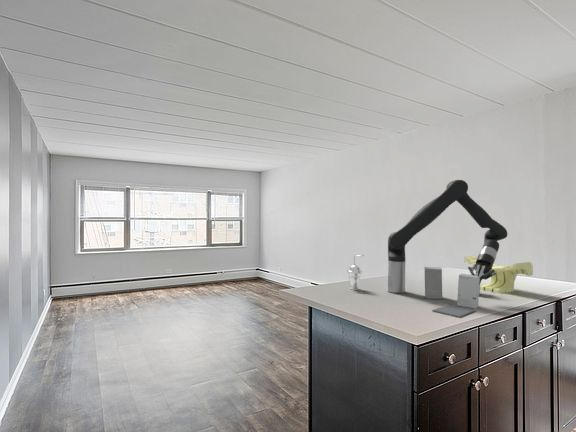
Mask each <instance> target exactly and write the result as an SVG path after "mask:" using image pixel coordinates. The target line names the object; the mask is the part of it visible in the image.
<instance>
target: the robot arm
mask: <svg viewBox="0 0 576 432" xmlns="http://www.w3.org/2000/svg"><path fill="white" fill-rule="evenodd" d="M445 188H446V189H445V190H444V191H443V192H442V193H441V194H440V195H439V196H436V198H434V199H432V200H430V201H429V202H427V203H426V204H424V205H423V206H422V207H421V208H420V209H418V211H417V212H416V213H415V214H413V216H412V217H411V218H410V220H408V222H407V223H406V224H405V225H404V226H402V227H401V228H400V229H398V230H397V231H395V232H391V233H390V234H389V235H388V239H387V256H388V257H387V258H388V259H387V261H388V262H387V264H388V266H387V268H388V269H387V270H388V271H387V293H395V294H404V293H405V292H406V245H407V244H408V243H409V242H410V241H411V240H412V238H414V237H415V236H416V235H417V234H418V233H420V232H421V231H423V230H424V229H425V228H426V227H428V226H429V225H430V224H432V222H434V221H435V220H436V219H437V218H438V217H439V216H441V215H442V214H443V212H445V211H446V210H447V208H449V207H450V206H451V205H452V204H454V203H455V202H457V203H458V204H460V206H462V208H463V209H464V210H465V211H466V212H467V213H468V214H469V215H470V217H471V218H472V219H473V221H475V222H476V224H478V225H479V227H481V229H488V230H486V232H485V233H484V237H483V239H484V240H483V245H482V247H481V249H480V251H479V254H478V255H477V256H478V258H477V260H476V264H475V265H474V266H473V265H472V266H468V267H467V269H468V271H469V273H470V274H471V275H475V276H480V283H479V285H480V286H481V284H482V283H481V282H482V281H483V280H488V279H491V277H492V276H493V275H495V274H496V273H495V271H494V270H492V266H493V264H495V261H496V260H497V254H498V252H499V249H500V243H499V241H501V240H504V239H506V238H507V237H508V230H507V229H506V227H504V225H502V224H500V223H499V222H498V221H497V220H494V219H493V218H492V216H490V215H489V213H488V212H487V211H486V210H485V209H484V208H483V207H482V206H480V205H479V204H478V203H477V202H476V201H475V200H474V199H473V198H472V197H471V196H470V194H469V193H468V190H469V185H468V183H467V181H465V180H463V179H455V180H452V181H449V183H448V184H446V187H445Z"/></svg>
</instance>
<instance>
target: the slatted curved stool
mask: <svg viewBox="0 0 576 432" xmlns="http://www.w3.org/2000/svg"><path fill="white" fill-rule="evenodd" d="M478 256H479V255H475V256H474V255H473V256H464V257H463V259H464V263H465V262H466V263H468V264H469V265H472V267H473V266H474V265H475V264H476V260H477V258H478ZM492 270H494V271H495V273H496V274H495V275H493V276H492V277H490V282H488V283H485V284H483V285H480V291H485V292H491V293H496V294H505V292H506V293H510V292H511V291H512V292H514V291H515V281H516V278H517V275H519V274H521V275H523V274H524V275H525V276H534V275H533V273H534V271H533V270H534V269H533V263H532V262H530V261H526V262H517V263H514V264H512V265H508V266H506V265H505V266H503V265H499V264H495V263H494V264H493V266H492ZM512 292H511V293H512Z"/></svg>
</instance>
